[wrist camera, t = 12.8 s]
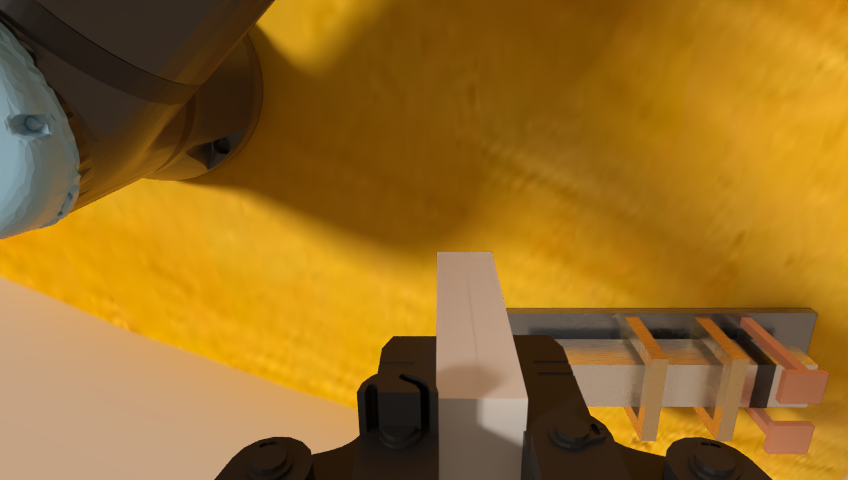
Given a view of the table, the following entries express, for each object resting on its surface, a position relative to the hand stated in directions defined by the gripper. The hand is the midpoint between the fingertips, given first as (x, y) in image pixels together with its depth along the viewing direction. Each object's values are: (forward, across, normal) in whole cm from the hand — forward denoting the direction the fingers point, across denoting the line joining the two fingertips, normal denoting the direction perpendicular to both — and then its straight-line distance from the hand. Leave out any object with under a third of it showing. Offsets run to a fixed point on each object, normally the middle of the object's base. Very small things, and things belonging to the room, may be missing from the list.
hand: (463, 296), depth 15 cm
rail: (+30, +16, -20) cm, 40 cm away
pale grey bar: (+28, +18, -20) cm, 39 cm away
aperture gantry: (+30, +26, -20) cm, 45 cm away
